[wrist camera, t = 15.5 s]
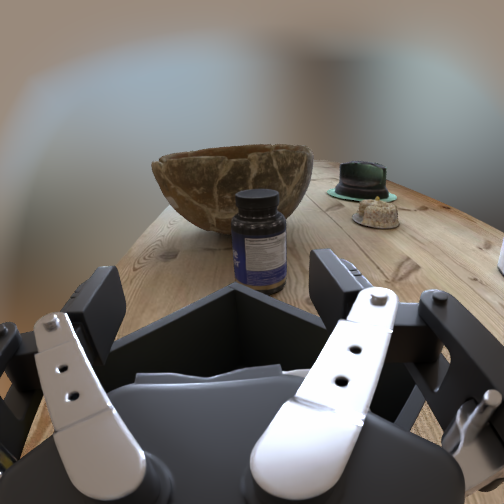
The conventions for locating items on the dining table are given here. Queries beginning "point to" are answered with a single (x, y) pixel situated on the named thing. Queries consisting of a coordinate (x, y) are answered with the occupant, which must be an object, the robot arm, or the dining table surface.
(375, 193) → the fedora hat
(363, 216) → the cake
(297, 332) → the open storage box
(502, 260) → the speaker
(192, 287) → the dining table surface
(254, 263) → the pill bottle
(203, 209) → the bowl
